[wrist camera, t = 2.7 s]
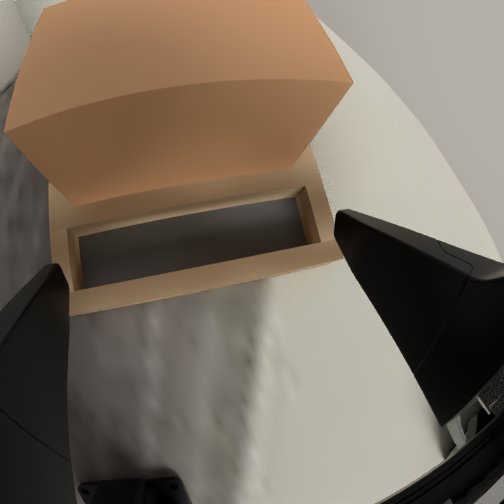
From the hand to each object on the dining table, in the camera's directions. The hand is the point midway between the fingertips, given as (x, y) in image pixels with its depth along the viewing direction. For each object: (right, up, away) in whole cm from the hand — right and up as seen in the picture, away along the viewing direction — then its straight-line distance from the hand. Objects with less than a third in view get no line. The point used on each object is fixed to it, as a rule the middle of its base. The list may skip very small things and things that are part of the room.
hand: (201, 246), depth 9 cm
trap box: (-4, +11, +8) cm, 15 cm away
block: (-3, +6, +6) cm, 9 cm away
